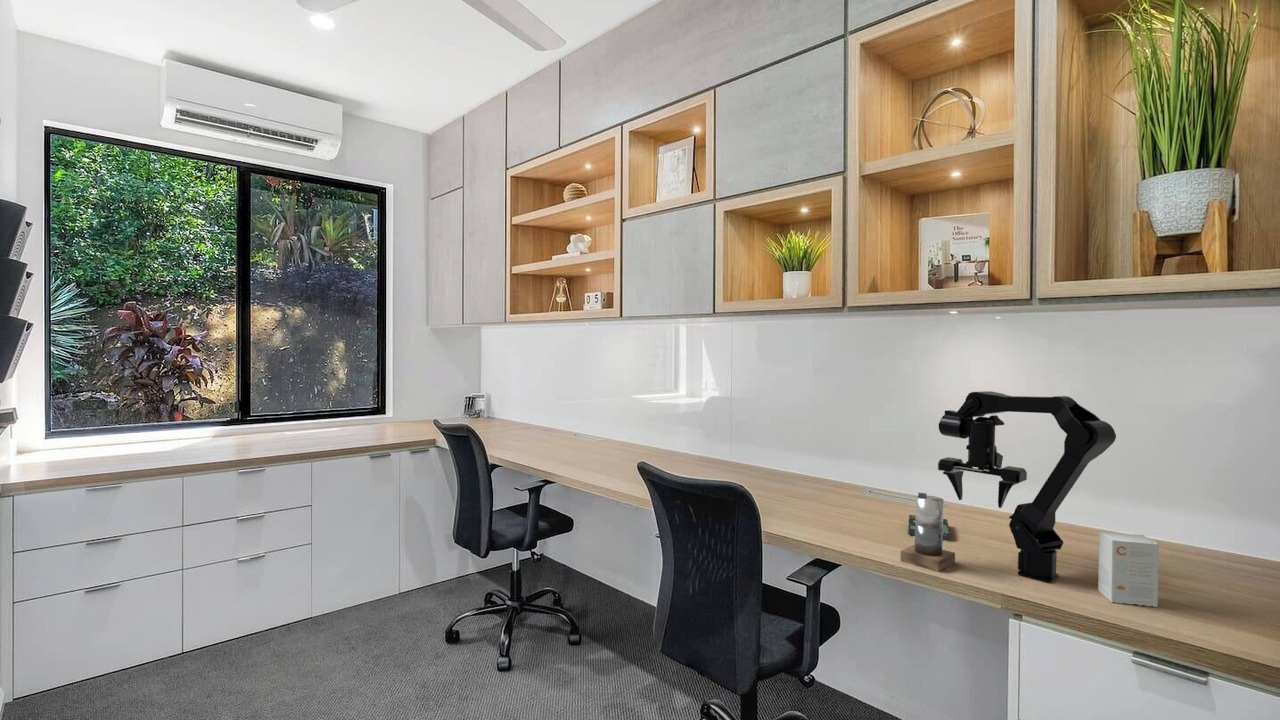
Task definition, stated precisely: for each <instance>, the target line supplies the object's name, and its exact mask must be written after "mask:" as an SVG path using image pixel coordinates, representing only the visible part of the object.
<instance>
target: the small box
mask: <svg viewBox="0 0 1280 720" xmlns="http://www.w3.org/2000/svg"><path fill="white" fill-rule="evenodd" d="M1098 539H1099V540H1098V584H1097V585H1098V586H1097V587H1098V592H1099V593H1100V594H1101V595H1102V594H1103V595H1102V596H1103V597H1105V598H1106V599H1107V598H1108V599H1109V600H1110V601H1109V602H1111V603H1113V602H1115V604H1116V603H1117V604H1123V603H1126V604H1125V605H1133V604H1138V605H1137V606H1142V605H1145V606H1144V607H1151V606H1153V608H1158V606H1159V605H1158V604H1159V568H1160V567H1159V562H1160V560H1159V558H1160V554H1159V553H1160V543H1158V542H1156V541H1155V540H1153V539H1151V538H1149V536H1148V537H1147V536H1146V535H1144V534H1136V533H1135V534H1134V533H1123V532H1121V533H1120V532H1111V531H1110V532H1109V531H1099V533H1098ZM1108 599H1107V600H1108Z"/></svg>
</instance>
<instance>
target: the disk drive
mask: <svg viewBox="0 0 1280 720" xmlns="http://www.w3.org/2000/svg"><path fill="white" fill-rule="evenodd" d="M915 516H916V515H914V514H913V515H911V514H909V515H908V528H907V530H908V531H907V534H908V535H910V536H909V537H913V536H915ZM943 540H946V541H945V542H950V528H949V522H948V519H945V518H943V539H942V541H943Z"/></svg>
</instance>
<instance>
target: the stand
mask: <svg viewBox="0 0 1280 720" xmlns="http://www.w3.org/2000/svg"><path fill="white" fill-rule="evenodd" d="M900 562H903V563H906V564H910V565H914V566H916V567H917V566H918V567H920V568H924V569H928V570H931V571H933V572H937V573H939V572H941V571H943V570H944V568H945V569H946V567H947V568H948V567H950V566H952V565H954V564H955V563H956V552H953V551H950V550H946V549H943V548H942V555H940V556H928V555H923V554H920V553H917V552H916V551H915V544H913V545H909V546H908V547H905V548H904V549H901V550H900ZM953 563H954V564H953ZM951 564H952V565H951ZM949 565H950V566H949ZM942 569H943V570H942Z"/></svg>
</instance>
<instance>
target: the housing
mask: <svg viewBox="0 0 1280 720" xmlns="http://www.w3.org/2000/svg"><path fill="white" fill-rule="evenodd" d="M917 494H918V495H916V496H915V515H914V516H915V537H914V545H915V551H916V552H917V553H920V554H923V555H928V556H940V555H942V549H943V540H942V539H943V519H944V498H942V497H940V496H939V497H938V496H935V495H927V493H925V492H918V493H917Z"/></svg>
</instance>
